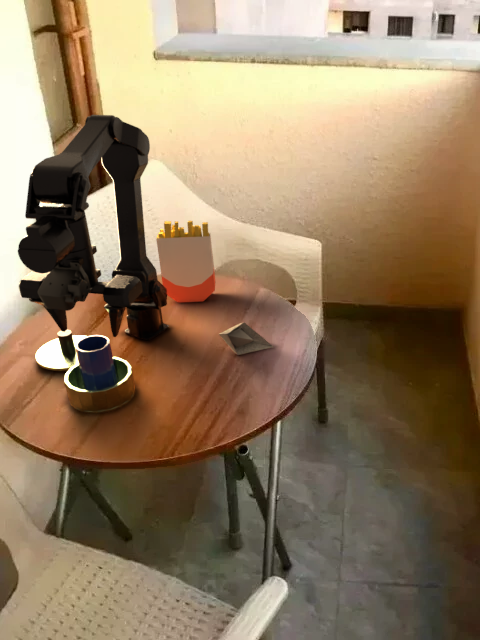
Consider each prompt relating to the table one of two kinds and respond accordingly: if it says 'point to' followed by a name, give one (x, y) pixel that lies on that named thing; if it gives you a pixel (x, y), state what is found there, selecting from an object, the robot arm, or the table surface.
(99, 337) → the cup
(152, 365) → the table surface
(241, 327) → the paper boat
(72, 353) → the lid
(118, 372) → the pot
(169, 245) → the french fries container
